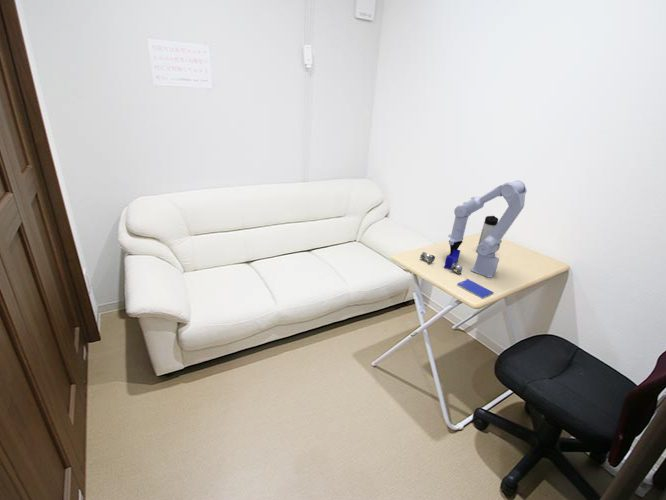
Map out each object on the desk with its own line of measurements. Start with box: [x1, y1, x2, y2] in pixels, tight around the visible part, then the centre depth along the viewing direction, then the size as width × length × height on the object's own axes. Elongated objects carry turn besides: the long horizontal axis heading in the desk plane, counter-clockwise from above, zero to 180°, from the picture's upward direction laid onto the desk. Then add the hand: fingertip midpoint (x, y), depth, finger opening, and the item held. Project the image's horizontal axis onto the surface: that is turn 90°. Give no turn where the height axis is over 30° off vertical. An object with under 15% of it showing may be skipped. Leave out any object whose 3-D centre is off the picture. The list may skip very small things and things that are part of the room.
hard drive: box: [456, 278, 494, 299], centre depth 149 cm, size 2×8×12 cm
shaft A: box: [450, 263, 463, 275], centre depth 161 cm, size 4×4×4 cm
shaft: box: [419, 251, 436, 263], centre depth 169 cm, size 6×4×4 cm, turn 33°
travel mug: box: [476, 215, 499, 254], centre depth 181 cm, size 6×7×20 cm
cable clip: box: [444, 249, 461, 271], centre depth 168 cm, size 12×4×6 cm, turn 145°
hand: (452, 253), depth 175 cm, fingers closed
